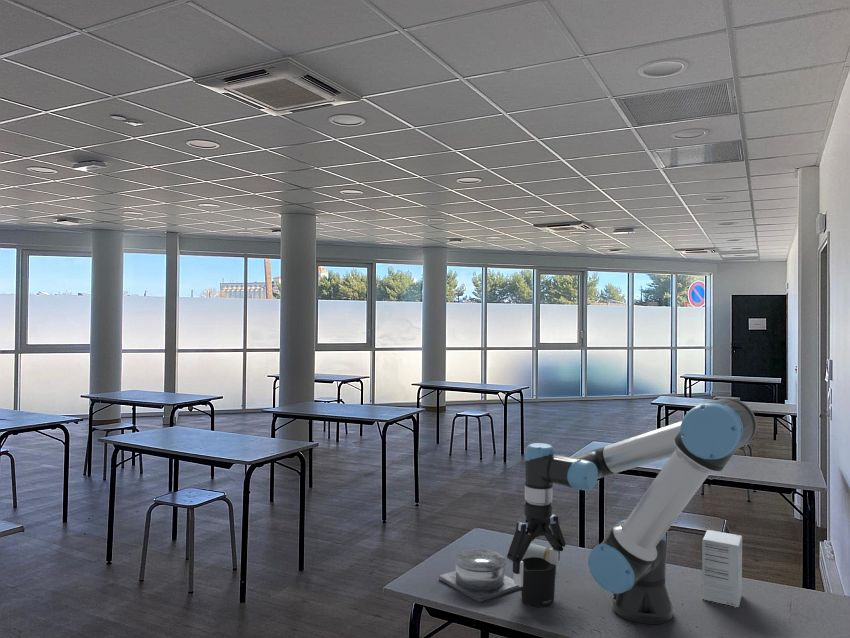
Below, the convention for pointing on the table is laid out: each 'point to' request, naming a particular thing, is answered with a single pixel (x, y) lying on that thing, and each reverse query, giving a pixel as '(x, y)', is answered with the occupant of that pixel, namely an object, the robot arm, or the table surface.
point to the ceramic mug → (537, 552)
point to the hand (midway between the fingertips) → (536, 579)
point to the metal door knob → (480, 575)
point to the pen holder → (538, 582)
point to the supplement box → (722, 567)
